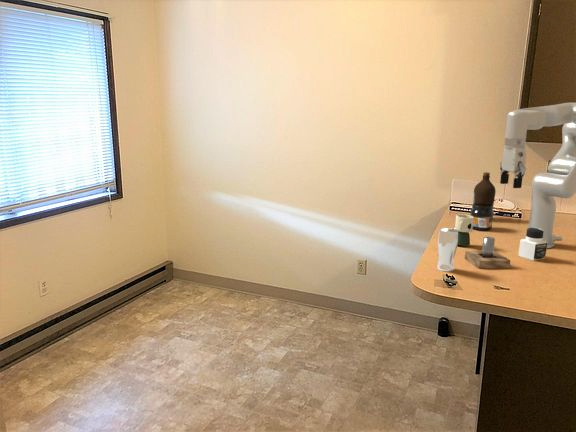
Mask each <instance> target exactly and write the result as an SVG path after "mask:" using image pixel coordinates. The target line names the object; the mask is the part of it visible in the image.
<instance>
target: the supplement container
mask: <svg viewBox="0 0 576 432" xmlns="http://www.w3.org/2000/svg"><path fill="white" fill-rule="evenodd" d="M471 208H472V209H470V214H469V215H470V216H473V217H474V219H473V228H472V230H474V231H478V232H488V231H489V232H490V231H491V230H492V229H493V219H494V211H492V210H494V205H491V204H486V203H474V204H473V203H472V204H471Z"/></svg>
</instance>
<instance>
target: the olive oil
mask: <svg viewBox="0 0 576 432" xmlns="http://www.w3.org/2000/svg"><path fill="white" fill-rule="evenodd" d="M490 178H491V172H487V171H486V172H485V171H484V172H483V174H482V179H481V180H480V181H479V182H478V183H477V184H476V185H475V186H474V188H473V189H474V190H473V199H472V201H473V202H472V204H474V203H486V204H491V205H493V206H494V203H495V198H496V192H497V191H496V187H495V185H494V184H493V182H491V179H490ZM493 210H494V209H493ZM493 210H492V211H493ZM493 212H494V211H493Z"/></svg>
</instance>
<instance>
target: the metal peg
mask: <svg viewBox="0 0 576 432" xmlns="http://www.w3.org/2000/svg"><path fill="white" fill-rule="evenodd" d="M495 239H496V238H495V237H492V236H484V237H483V240H482V250H481V251H482V257H483V258H493V251H495V250H494V249H495V241H496V240H495Z"/></svg>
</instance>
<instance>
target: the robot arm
mask: <svg viewBox="0 0 576 432" xmlns="http://www.w3.org/2000/svg"><path fill="white" fill-rule="evenodd" d="M561 125H563V126H562V129H561V134H562V135H561V136H562V145H561V147H560V149H559V150H558V151H557V152H556V154H555V155H554V157H553V158H552V159H551V160H550V162H549V163H548V166H547V171H548V172H546V171H545V172H539V173H537V174H535V175H534V176H533V178H532V180H531V193H532V194H531V195H532V196H531V207H530V214H529V215H530V216H529V222H528V228H539V229H542V230H543V231H544V233H543V241H546V242H547V249H552V248H555V246H556V243H555V242H556V241H557V242H562V241H563V237H562V236H559V235H558V236H556V235H554V234H553V233H554V224H555V217H556V211H557V204H556V200H555V198H558V199H559V198H560V199H570V198H572V197H573V196H574V195H575V194H576V102H563V103H558V104H557V103H556V104H550V105H544V106H535V107H534V106H533V107H526V108H525V107H524V108H520V109H519V108H518V109H517V108H516V109H515V110H512V111H511V110H510V111H509V112H508V113H507V115H506V127H505V136H504V143H503V144H504V145H503V146H504V148H503V153H502V158H501V159H502V160H501V161H500V162H499V166H500V181H499V183H500V184H501V185H508V184H509V178H510V174H509V173H513V175H514V177H513V181H512V182H513V183H512V188H513V189H522V186H523V178H524V176H525V173H526V170H527V168H526V163H527V162H526V159H527V156H526V155H527V153H526V152H527V151H526V143H527V142H526V141H527V132H528V130H529V131H530V130H533V131H535V130H536V131H537V130H540V129H542V128H543V127H555V126H556V127H557V126H561ZM525 239H527V238H526V237H525Z"/></svg>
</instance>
